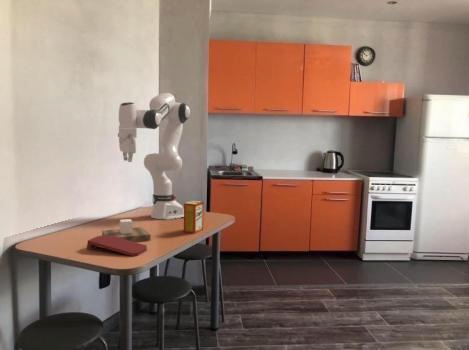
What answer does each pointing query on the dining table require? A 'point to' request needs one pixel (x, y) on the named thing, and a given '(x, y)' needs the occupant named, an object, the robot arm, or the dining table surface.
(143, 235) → the plinth
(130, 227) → the cream block
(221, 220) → the dining table surface
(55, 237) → the dining table surface
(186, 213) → the baking soda box
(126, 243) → the carton
